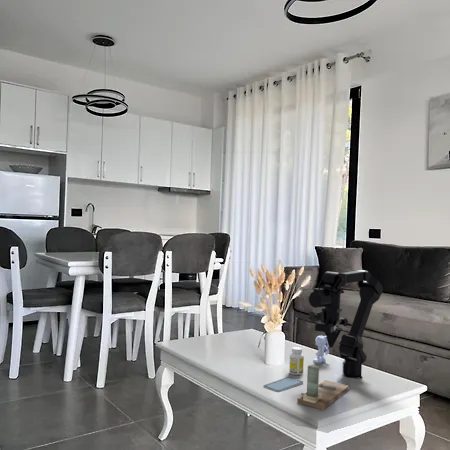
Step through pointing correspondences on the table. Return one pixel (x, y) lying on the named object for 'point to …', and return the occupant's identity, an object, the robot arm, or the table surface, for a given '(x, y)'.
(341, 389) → the stepped wooden base
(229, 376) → the table surface
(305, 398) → the pale green upright block
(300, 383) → the smartphone
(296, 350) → the supplement bottle
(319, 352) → the toy figurine
